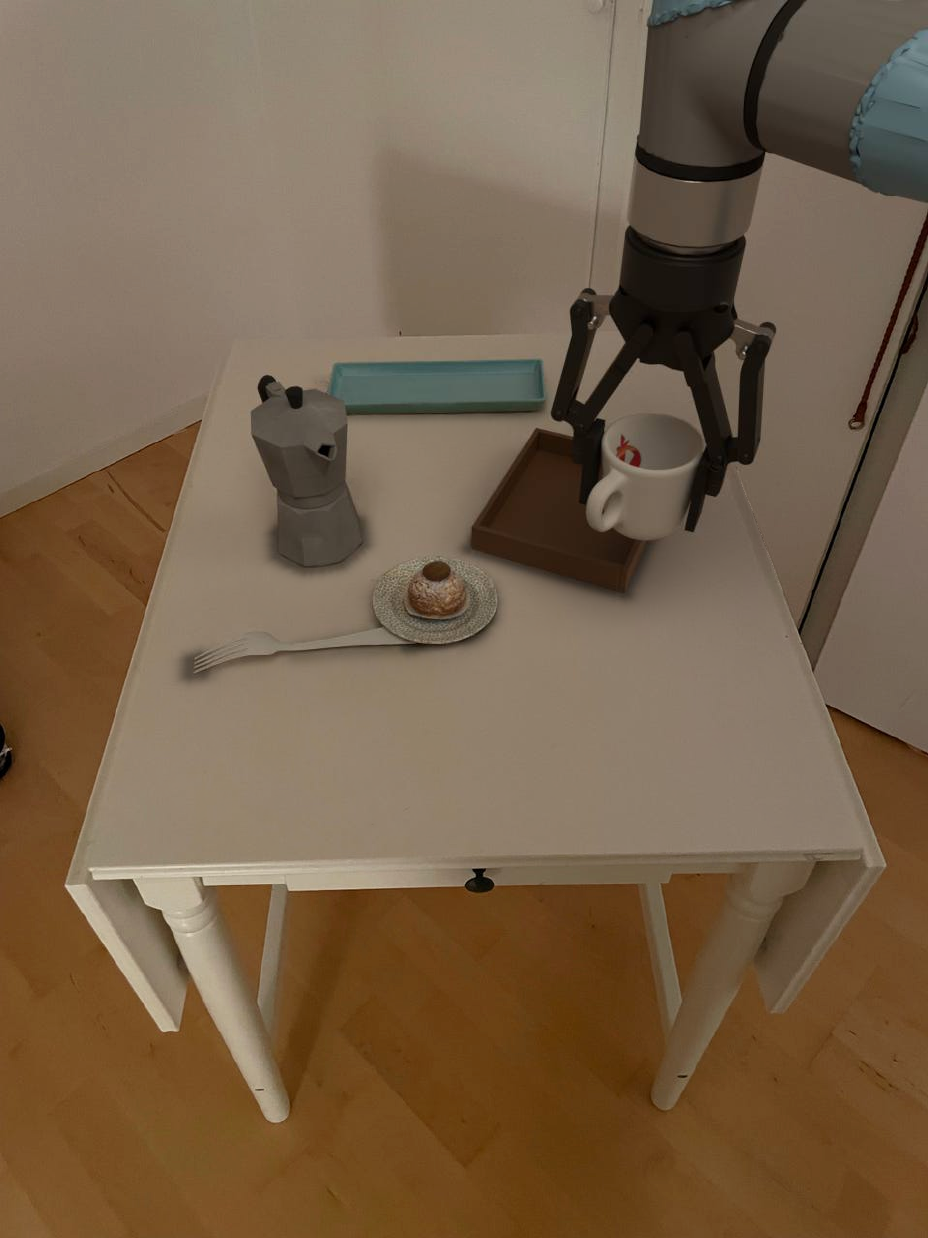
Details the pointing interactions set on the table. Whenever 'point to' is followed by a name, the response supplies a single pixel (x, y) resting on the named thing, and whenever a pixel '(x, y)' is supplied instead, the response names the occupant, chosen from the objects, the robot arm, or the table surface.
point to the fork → (293, 644)
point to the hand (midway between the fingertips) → (639, 507)
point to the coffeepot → (307, 472)
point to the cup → (645, 476)
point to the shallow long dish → (439, 386)
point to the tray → (552, 519)
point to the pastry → (434, 600)
